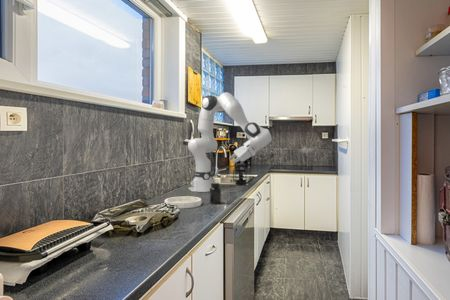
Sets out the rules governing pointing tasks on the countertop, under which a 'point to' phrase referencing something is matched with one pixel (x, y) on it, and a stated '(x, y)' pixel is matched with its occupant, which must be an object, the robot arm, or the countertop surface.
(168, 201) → the ceramic bowl
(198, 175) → the robot arm
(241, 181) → the french press
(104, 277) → the countertop surface
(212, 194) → the supplement bottle
